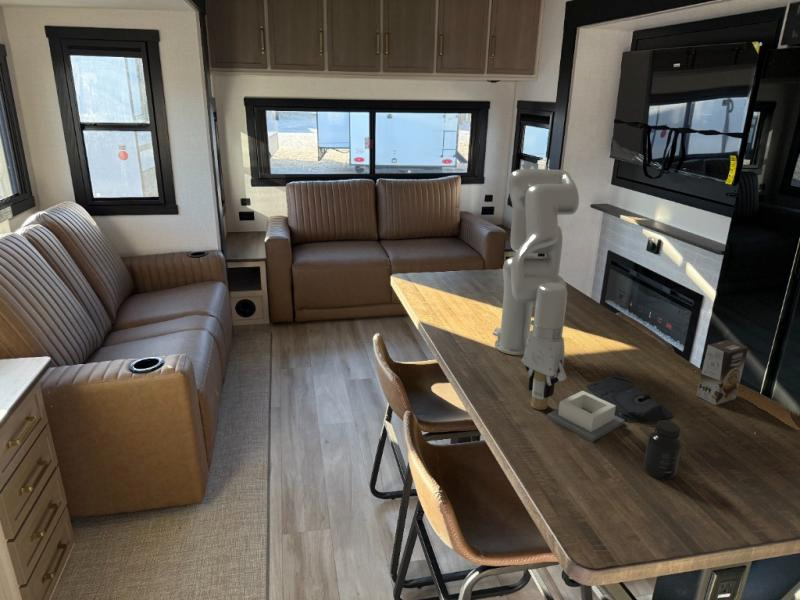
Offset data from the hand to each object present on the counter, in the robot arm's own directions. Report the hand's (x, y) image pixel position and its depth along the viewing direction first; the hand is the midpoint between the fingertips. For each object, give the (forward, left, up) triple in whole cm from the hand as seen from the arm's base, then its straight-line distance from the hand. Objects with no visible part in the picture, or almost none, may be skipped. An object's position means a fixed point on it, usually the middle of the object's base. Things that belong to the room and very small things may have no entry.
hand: (540, 392), depth 154 cm
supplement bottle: (+35, -1, -5) cm, 35 cm away
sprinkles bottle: (0, 0, -5) cm, 5 cm away
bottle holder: (+12, +4, -4) cm, 13 cm away
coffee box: (+27, +45, -5) cm, 53 cm away
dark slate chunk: (+13, +22, -5) cm, 26 cm away
